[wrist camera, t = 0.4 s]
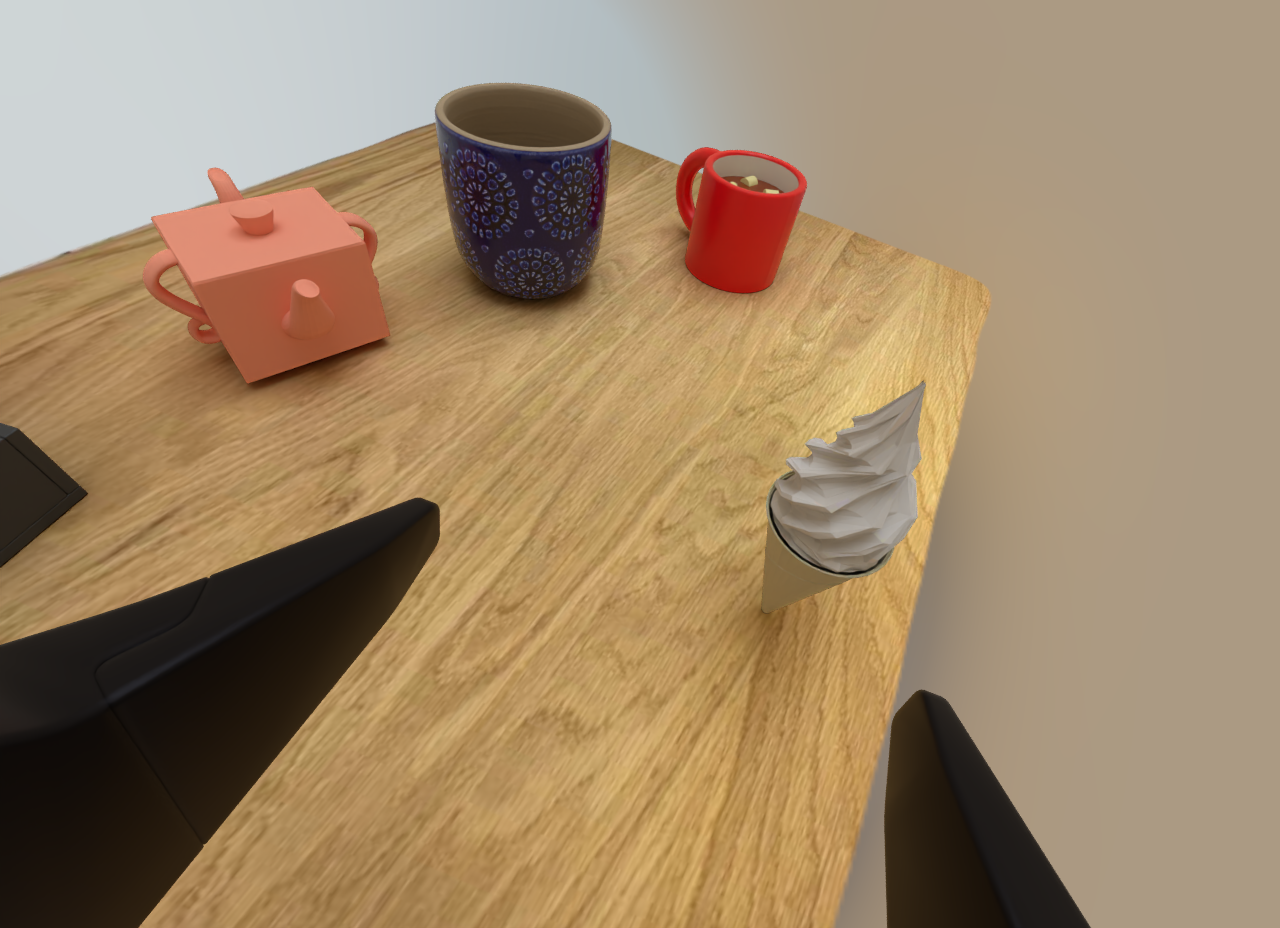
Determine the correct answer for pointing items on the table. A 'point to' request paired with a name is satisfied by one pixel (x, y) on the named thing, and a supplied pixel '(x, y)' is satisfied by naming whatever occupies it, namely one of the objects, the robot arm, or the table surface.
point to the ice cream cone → (843, 504)
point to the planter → (524, 184)
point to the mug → (738, 216)
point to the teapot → (271, 277)
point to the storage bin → (29, 491)
